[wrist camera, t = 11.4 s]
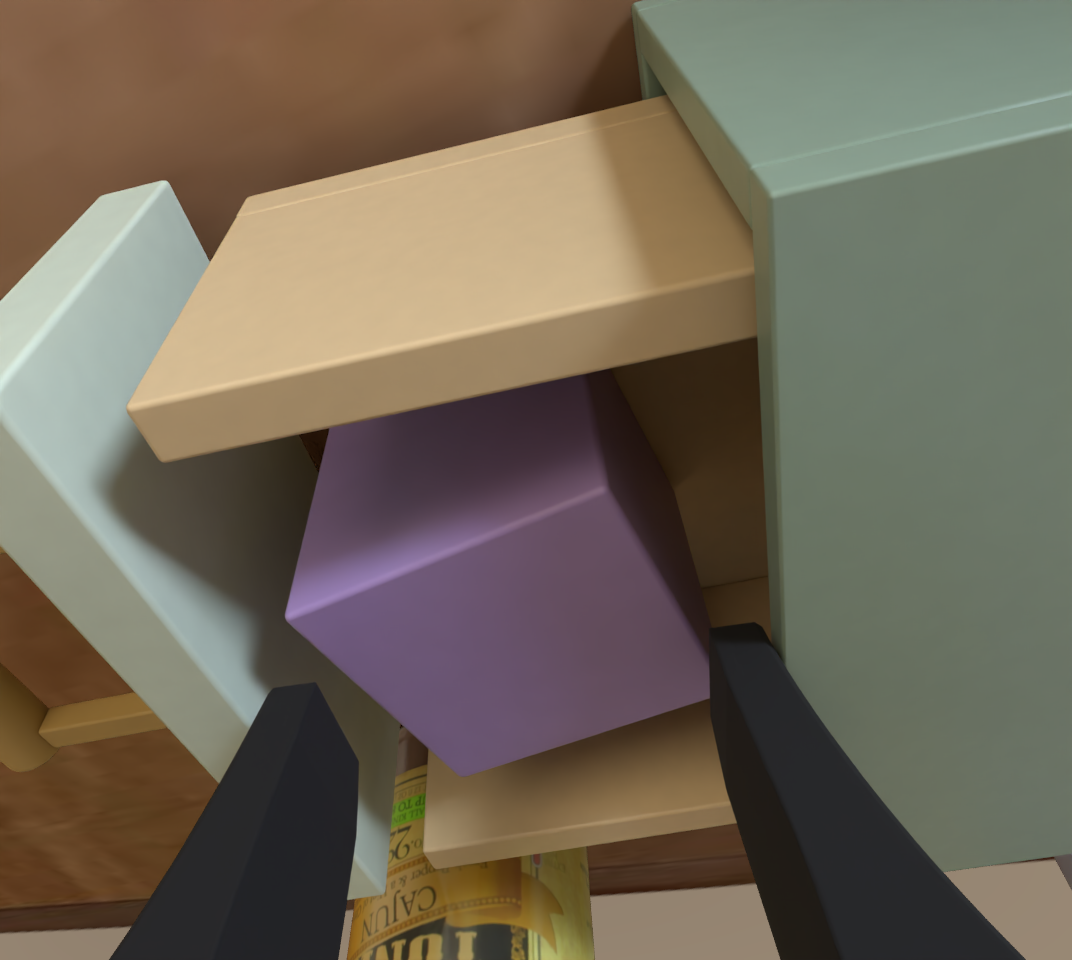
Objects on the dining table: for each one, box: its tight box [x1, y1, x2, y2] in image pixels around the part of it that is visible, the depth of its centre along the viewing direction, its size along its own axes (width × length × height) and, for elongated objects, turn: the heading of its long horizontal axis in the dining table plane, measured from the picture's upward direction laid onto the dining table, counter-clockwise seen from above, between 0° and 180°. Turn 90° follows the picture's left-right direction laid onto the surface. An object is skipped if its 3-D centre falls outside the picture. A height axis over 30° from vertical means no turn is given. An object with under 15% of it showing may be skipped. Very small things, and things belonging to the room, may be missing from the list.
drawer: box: [0, 95, 772, 900], centre depth 14 cm, size 18×12×6 cm, turn 102°
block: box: [285, 369, 712, 777], centre depth 14 cm, size 5×5×5 cm
